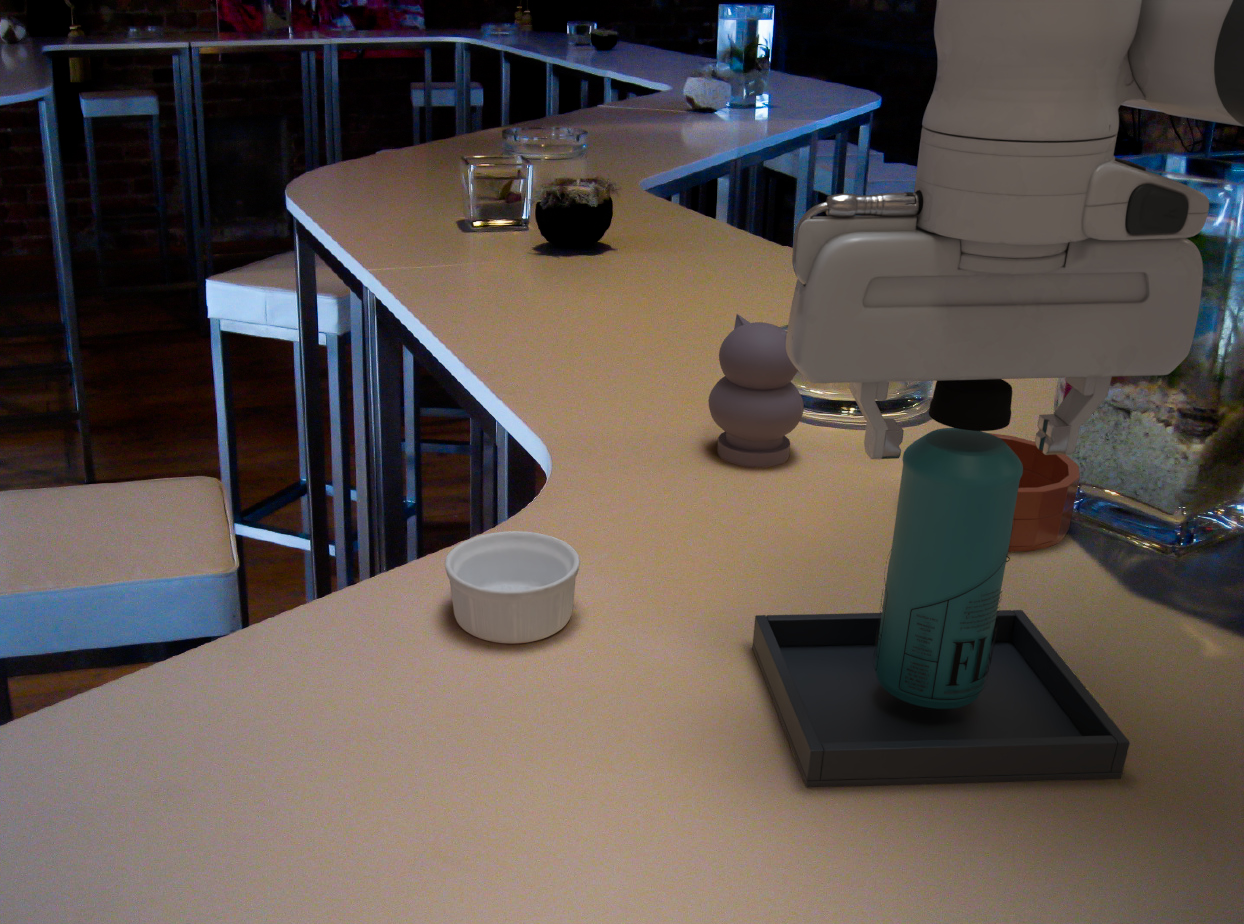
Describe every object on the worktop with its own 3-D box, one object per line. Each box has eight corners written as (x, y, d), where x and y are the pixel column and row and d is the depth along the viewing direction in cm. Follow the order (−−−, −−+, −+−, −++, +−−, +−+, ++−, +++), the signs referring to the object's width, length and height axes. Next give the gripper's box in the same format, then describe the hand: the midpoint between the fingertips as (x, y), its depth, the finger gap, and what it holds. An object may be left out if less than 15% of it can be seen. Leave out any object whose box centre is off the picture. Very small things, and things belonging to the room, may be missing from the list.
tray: (1015, 642, 79) (1022, 609, 78) (1121, 780, 66) (1130, 742, 65) (751, 648, 78) (755, 614, 77) (806, 789, 65) (810, 750, 64)
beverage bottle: (941, 747, 68) (1001, 410, 59) (844, 697, 72) (886, 377, 64) (1003, 704, 72) (1067, 382, 63) (907, 659, 76) (955, 353, 68)
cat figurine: (686, 450, 109) (693, 320, 104) (744, 430, 113) (754, 304, 108) (759, 480, 103) (771, 343, 98) (817, 457, 108) (831, 325, 102)
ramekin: (476, 662, 76) (475, 602, 74) (428, 600, 84) (425, 544, 82) (601, 632, 80) (603, 574, 78) (544, 575, 87) (545, 520, 85)
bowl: (1029, 486, 102) (1039, 431, 100) (1094, 551, 91) (1107, 490, 89) (889, 488, 101) (896, 433, 99) (938, 553, 91) (947, 492, 88)
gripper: (813, 207, 56) (790, 482, 62) (1244, 199, 57) (1180, 471, 63) (782, 182, 61) (763, 436, 67) (1174, 176, 62) (1122, 427, 68)
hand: (967, 453), depth 65 cm, fingers open, 8 cm apart
